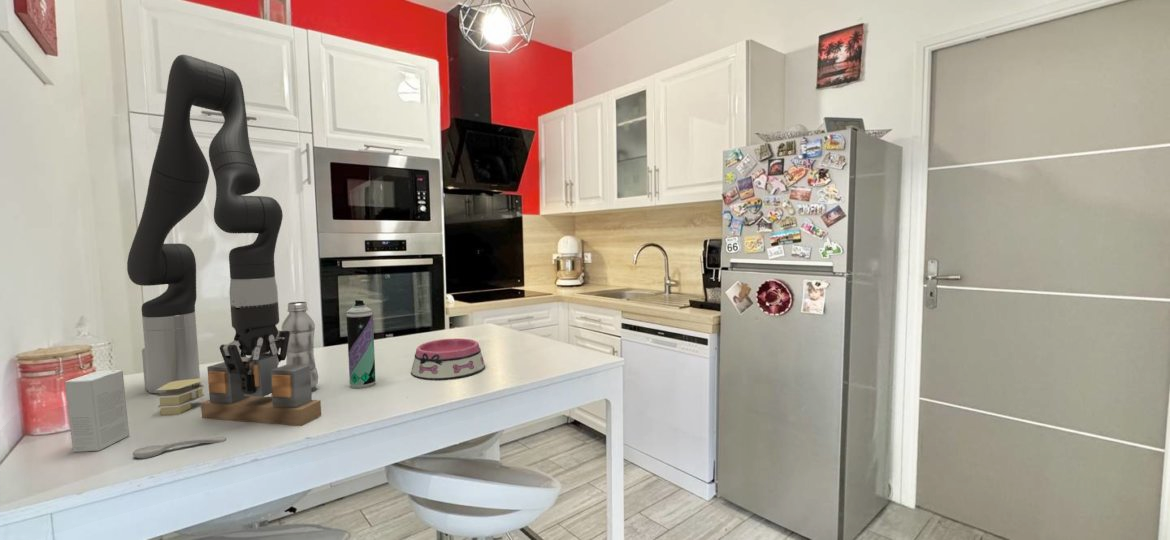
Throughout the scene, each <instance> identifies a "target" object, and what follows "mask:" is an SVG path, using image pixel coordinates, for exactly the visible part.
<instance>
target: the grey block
mask: <svg viewBox="0 0 1170 540" xmlns="http://www.w3.org/2000/svg"><path fill="white" fill-rule="evenodd" d="M250 357H251V356H249V357H248V358H250ZM247 365H248V362H247V363H246V365H245V368H247ZM278 367H279V365H278V363H277V355H274V356H265V355H259V359H258V361H257V362H256V363H255V365H254V373H253V374H254V379H255V386H256V392H255V393H253V394H244V396H254V397H267V396H268V395H272V387H271V371H270V370H272V369H275V368H278Z"/></svg>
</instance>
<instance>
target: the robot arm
mask: <svg viewBox="0 0 1170 540" xmlns="http://www.w3.org/2000/svg"><path fill="white" fill-rule="evenodd" d="M167 80H168V81H167V87H166V95H165V102H164V109H163V110H164V112H163V119H162V125H161V131H160V135H159V140H158V144H157V148H156V152H155V156H154V159H153V162H152V167H151V170H150V171H151V172H150V176H149V180H148V186H147V187H148V188H147V193H146V196H145V197H146V198H145V202H144V206H143V210H142V214H141V218H140V221H139V224H138V226H137V229H136V232H135V235H134V238H133V240H132V243H131V246H130V249H129V252H128V254H127V255H128V256H127V262H126V263H127V264H126V265H127V266H126V271H127V274H128V277H129V279H130V281H131V282H132V283H133V284H135V285H138V286H142V287H145V286H147V287H148V286H152V287H153V286H160V285H161V286H162V285H167V288H166V290H165V291H164V292H162V294H160V295H158V296H156V297H155V298H152V299H150V300H148V301H145V302H143V304H142V305H141V319H142V321H141V322H142V331H143V342H144V348H142V350H141V358H142V368H143V369H142V370H143V381H144V391H148V392H149V393H150V394H161V393H163V392H165V391H166V390H157V389H159V388H160V387H162V386H164V385H166V384H167V383H170V382H173V381H179V380H188V379H198V378H201V370H200V360H199V358H200V357H199V344H198V333H197V332H198V331H197V318H196V317H197V316H196V301H197V262H196V256H195V253H194V252H193V251H194V250H192V248H191V247H190V246H189V245H187V244H186V243H185V244H184V243H165V241H166V238H167V237H168V235H169V233H171V231H172V230H173V228H175V226H176V225H178V224H179V223H180V222H181V221H183V219H184V218H185V217H187V216H188V215H189V214H190V213H192V211H194V210H195V209H196V208H197V207H198V205H199V204H200V203H201V202H202V200H203V199H204V197H205V194H206V189H207V185H208V181H209V178H210V168H209V163H210V166H211V169H212V172H213V176H214V180H215V187H216V190H215V191H216V192H215V203H214V208H213V221H214V223H215V225H216V226H217V227H218V228H219V229H220V230H221V231H223V232H224V233H227V234H257V237H256V239H255V240H254V241H253V243H250V244H246V245H241V246H237V247H234V248H232V249H231V250H230V251H229V253H228V263H229V264H228V265H229V278H230V282H229V283H230V284H229V303H230V321H231V327H232V328H233V330H234V332H235V335H234V337H233V341H231V342H229V343H227V344H221V345H220V346H219V351H220V353H221V357H222V360H223V362H225V364H226V367H227V370H228V372H229V374H239V375H240V383H241V391H242V392H243V393H244V394H253V393H255V392H256V386H255V379H254V374H253V373H254V365H255V363H256V362H257V361H258V359H259V355H265V356H274V355H277V363H278V366H279V365H280V363H281V362H282V361H285V360H286V354H287V348H288V342H289V337H290V332H289V331H282V330H279V329H278V328H277V325H278V324H279V323H280V312H279V311H280V309H279V308H280V307H279V296H278V295H279V293H278V285H277V281H276V273H275V272H276V269H275V253H276V245H277V241H278V237H279V234H280V230H281V227H282V222H283V217H284V216H283V215H284V214H283V210H282V207H281V205H280V204H279V203H280V202H278V201H277V200H276V199H274V198H273V197H270V196H264V195H263V196H262V195H248V194H252V193H254V192H256V191H257V190H258V189H259V188H260V186H261V177H260V174H259V170H258V167H257V164H256V161H255V158H254V155H253V153H252V149H251V148H252V147H251V145H250V144H251V142H250V138H249V137H250V136H249V130H248V129H249V128H248V119H247V109H246V102H245V101H246V100H245V93H244V89H243V84H242V81H241V78H240V76H239V75H238V74H237V72H236V71H235V70H233V69H231V68H229V67H226V66H224V65H223V66H222V65H219V64H216V63H215V62H214V63H213V62H210V61H207V60H205V59H201V58H198V57H195V56H191V55H187V54H179V55H177V56H176V57H175V59H174V60H173V61H172V64H171V67H170V70H169V74H168V79H167ZM192 107H198V108H202V109H206V110H210V111H215V112H219V113H221V115H222V116H223V119H224V121H223V124H222V125H221V127H220V129H219V130H218V132H216V134H215V135H214V137H213V138H212V139H211V142H210V144H209V148H208V158H209V163H208V162H207V159H206V156H205V155H204V153H203V151H202V149H201V148H200V145H199V144H198V142H197V139H196V138H195V135H194V132H193V129H192V126H191V110H192ZM279 351H280V352H279ZM247 356H249V357H250V358H249V357H247ZM247 362H248V365H247V368H245V365H246V363H247ZM198 383H199V384H201V381H200V382H197V384H198ZM195 384H196V383H194V384H193V385H195ZM191 385H192V384H191Z"/></svg>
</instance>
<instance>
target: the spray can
mask: <svg viewBox="0 0 1170 540" xmlns="http://www.w3.org/2000/svg"><path fill="white" fill-rule="evenodd" d="M372 311H373V309H372V308H369V307H368V306H367V305H366V304H365V303H364V300H363V299H355V301H354V304H353V305H352V307H351V308H349V309H348V310H347V311H346V329H347V330H346V331H347V332H346V333H347V351H348V354H347V356H348V373H349V374H348V375H349V377H348V378H349V387H350V388H351V389H364V388H365V389H366V388H370V387H372V386H374V385H376V363H375V362H376V361H375V360H376V359H375V357H376V355H375V339H374V338H375V337H374V336H375V335H374V314H373V312H372Z"/></svg>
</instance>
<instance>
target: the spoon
mask: <svg viewBox="0 0 1170 540" xmlns="http://www.w3.org/2000/svg"><path fill="white" fill-rule="evenodd" d="M226 441H227V436H225V435H217V436H216V435H215V436H202V437H193V438H192V437H191V438H187V439H186V438H185V439H181V440H180V439H179V440H175V441H171V442H168V443H165V444H161V445H160V444H158V445H155V444H154V445H148V446H143V447H138V448H136V449H134V450H133V451H132V456H133V457H135V458H136V459H148V458H152V457H156V456H160V455H161V454H162V453H163V452H164V451H166V450H168V449H170V448H174V447H178V446H186V445H194V444H218V443H223V442H226Z"/></svg>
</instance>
